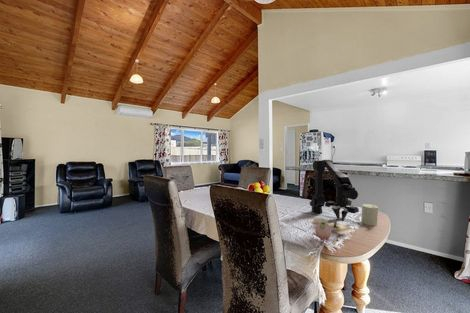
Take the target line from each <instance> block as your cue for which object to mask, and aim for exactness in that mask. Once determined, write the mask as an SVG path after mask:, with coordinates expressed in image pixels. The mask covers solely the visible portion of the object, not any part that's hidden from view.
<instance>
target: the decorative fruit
mask: <svg viewBox="0 0 470 313" xmlns="http://www.w3.org/2000/svg"><path fill="white" fill-rule="evenodd" d="M314 228H315V230H314V231H315V234H316V236H317V238H319V239H320V240H322V241H324V240H327V239H329V238H330V237H331V236H332V232H333V231H331V228H330V226H329V225H327V224H325V223H324V222H321V223H319V224H317V225H315V227H314Z"/></svg>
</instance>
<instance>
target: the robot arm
mask: <svg viewBox="0 0 470 313" xmlns="http://www.w3.org/2000/svg"><path fill="white" fill-rule="evenodd" d="M312 169H313V171H314V174H315V178H314V179H315V181H314V182H315V184H314V188H315V189H314V194H313V195H312V198H311V200H310V201H309V206H310V207H311V212H312V213H313V214H317V215H322V214H323V207H327V208H331V210H332V211H333V213H334V214H335V217H336V219H337V218H339V217H341V218H342V221H341V222H344V221H345V220H346V217H347V216H348V214H349V213H350V214H357V213H360V212H359V211H360V210H359V207H357V206H354V205H352V202H353V201H352V200H356V199H358V197H359V193H358V191H357V189H356V187H353V185H352V184H353V183H352V182H351V180H350V179H349V176H348V175H347V174H345V173H343V172H341V171H340V170H339V169H338V168H337V167H336V166H335V165H334V163H332V161H331V160H330V159H322V160H314V161H313V162H312ZM325 170H328V172H329V173H330V174H331V176H332V177H333V181H334V182H335V185H334V187H335V188H336V196H335V197H334V199H335V200H336V201H332V200H329V201H326V196H325V195H324V193H323V182H324V180H323V179H324V177H323V176H324V172H325ZM349 199H350V200H349ZM341 209H342V210H341ZM340 212H341V214H340ZM340 215H341V216H340Z"/></svg>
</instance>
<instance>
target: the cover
mask: <svg viewBox="0 0 470 313" xmlns="http://www.w3.org/2000/svg"><path fill="white" fill-rule="evenodd" d="M328 220H331V218H328V217H325V216H323V215H317V216H314V217H313V221H314V222H317V223H321V222H324V223H325V224H330V223H328Z"/></svg>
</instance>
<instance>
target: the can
mask: <svg viewBox="0 0 470 313" xmlns="http://www.w3.org/2000/svg"><path fill="white" fill-rule="evenodd" d="M378 214H379V206H377V205H375V204H371V203H363V204H362V206H361V220H360V222H361V223H362V224H364V225H366V226H372V227H373V226H377V225H378Z"/></svg>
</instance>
